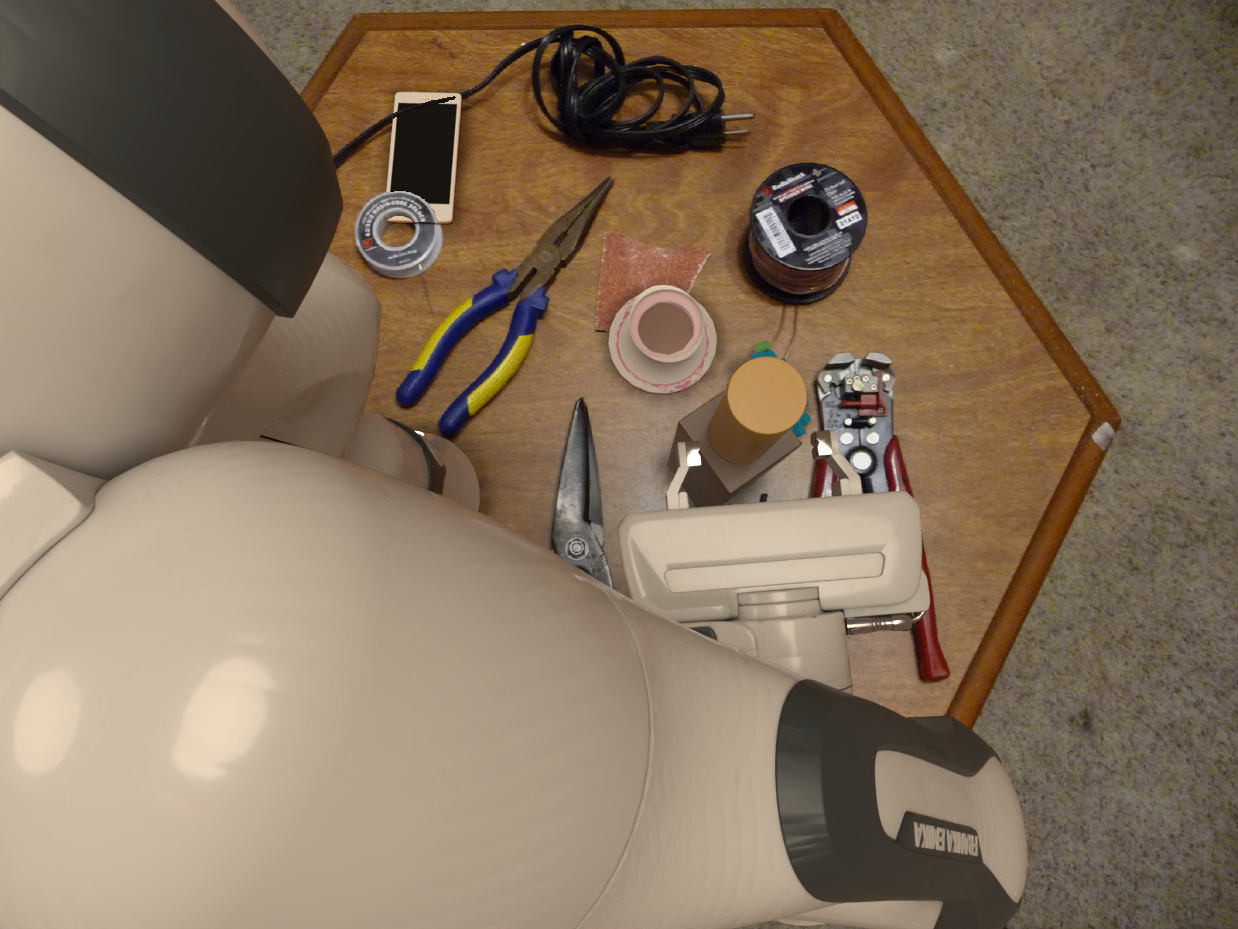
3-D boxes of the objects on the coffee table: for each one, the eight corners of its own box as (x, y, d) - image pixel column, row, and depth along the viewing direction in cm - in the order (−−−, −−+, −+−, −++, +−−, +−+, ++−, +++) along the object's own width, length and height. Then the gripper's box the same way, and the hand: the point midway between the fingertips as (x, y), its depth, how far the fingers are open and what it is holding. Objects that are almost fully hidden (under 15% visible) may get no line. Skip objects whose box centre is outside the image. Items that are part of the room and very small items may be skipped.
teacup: (733, 371, 81) (741, 354, 75) (632, 410, 81) (632, 397, 75) (691, 275, 83) (696, 251, 77) (592, 313, 83) (589, 292, 76)
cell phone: (385, 222, 85) (383, 219, 84) (396, 94, 87) (395, 91, 86) (452, 223, 84) (451, 221, 84) (462, 96, 87) (461, 92, 86)
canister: (733, 476, 57) (758, 449, 45) (695, 424, 58) (711, 385, 46) (785, 440, 58) (823, 404, 46) (747, 389, 58) (776, 341, 46)
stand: (703, 517, 79) (730, 494, 57) (666, 464, 80) (678, 421, 58) (757, 480, 79) (803, 443, 58) (719, 428, 80) (750, 372, 58)
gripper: (954, 631, 46) (922, 414, 48) (626, 658, 46) (609, 440, 48) (915, 625, 52) (889, 433, 54) (627, 648, 52) (611, 456, 54)
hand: (755, 437), depth 51 cm, fingers open, 8 cm apart
